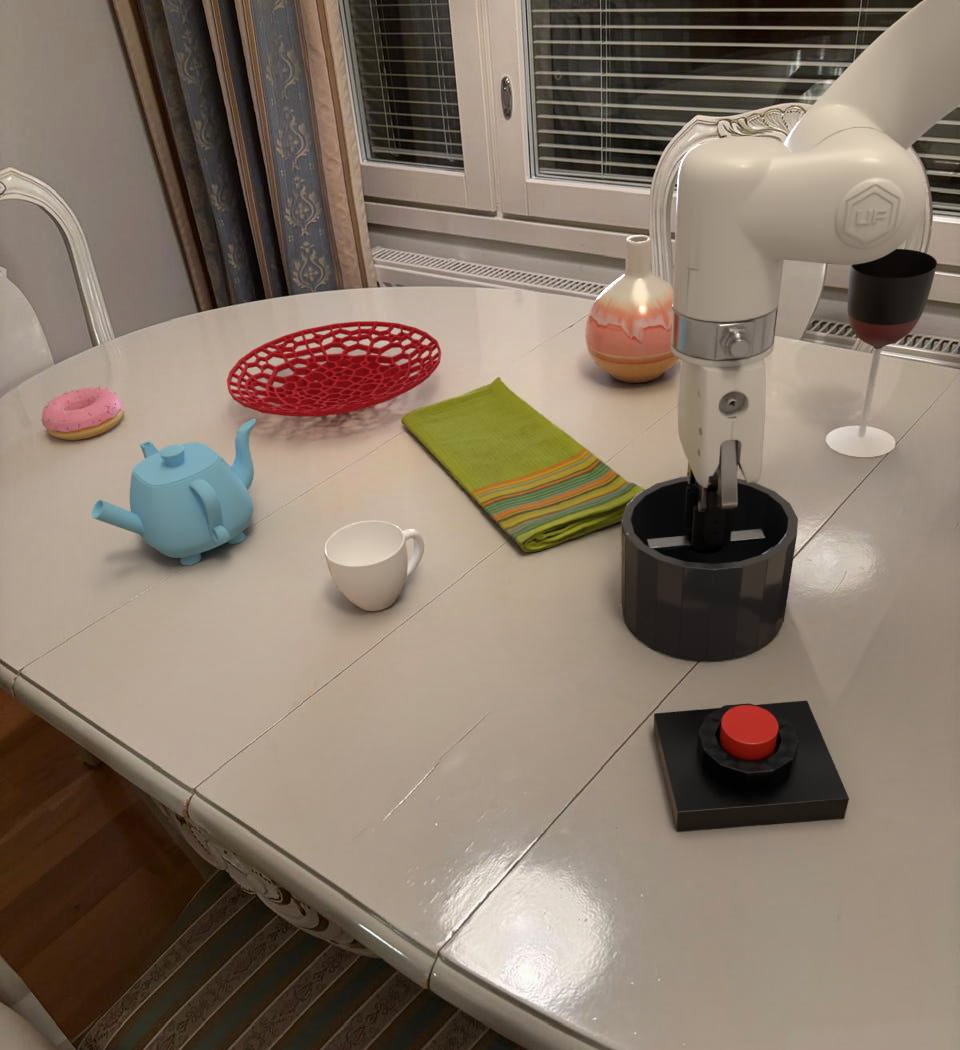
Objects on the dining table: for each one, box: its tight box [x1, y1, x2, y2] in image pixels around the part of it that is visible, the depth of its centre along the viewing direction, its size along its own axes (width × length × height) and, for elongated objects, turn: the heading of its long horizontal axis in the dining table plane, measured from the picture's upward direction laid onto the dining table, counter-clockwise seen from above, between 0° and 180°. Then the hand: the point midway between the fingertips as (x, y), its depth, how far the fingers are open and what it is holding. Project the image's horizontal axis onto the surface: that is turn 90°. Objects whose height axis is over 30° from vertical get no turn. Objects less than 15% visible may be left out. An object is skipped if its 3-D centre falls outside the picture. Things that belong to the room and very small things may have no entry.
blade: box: [647, 480, 765, 554], centre depth 78 cm, size 10×3×6 cm, turn 91°
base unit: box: [652, 700, 850, 832], centre depth 68 cm, size 12×10×4 cm
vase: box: [584, 234, 680, 384], centre depth 119 cm, size 14×14×18 cm
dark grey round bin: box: [620, 476, 799, 663], centre depth 82 cm, size 15×15×10 cm
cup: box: [323, 519, 425, 612], centre depth 89 cm, size 8×10×7 cm
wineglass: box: [825, 248, 938, 458], centre depth 99 cm, size 8×9×20 cm
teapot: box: [91, 418, 257, 566], centre depth 99 cm, size 15×14×11 cm
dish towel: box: [400, 376, 646, 553], centre depth 107 cm, size 15×36×3 cm, turn 25°
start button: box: [720, 705, 779, 760], centre depth 67 cm, size 4×4×2 cm
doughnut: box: [40, 386, 124, 441], centre depth 127 cm, size 11×11×4 cm
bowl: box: [226, 320, 442, 418], centre depth 126 cm, size 29×30×5 cm
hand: (706, 533), depth 79 cm, fingers closed on blade, 2 cm apart
